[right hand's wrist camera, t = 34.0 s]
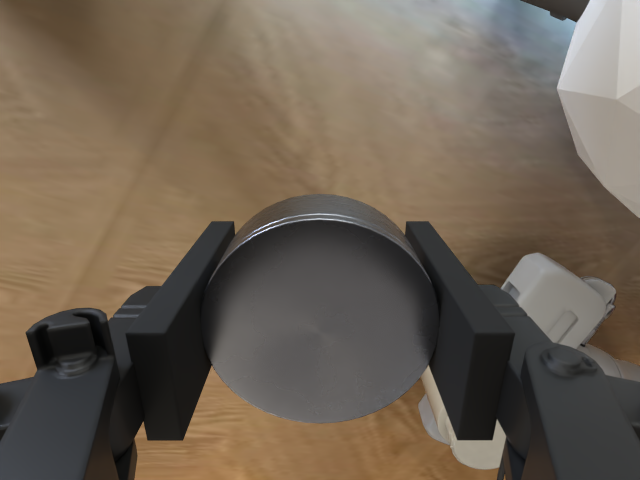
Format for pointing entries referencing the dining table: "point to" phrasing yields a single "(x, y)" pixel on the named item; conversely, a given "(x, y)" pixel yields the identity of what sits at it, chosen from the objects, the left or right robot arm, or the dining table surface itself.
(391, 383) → the lid
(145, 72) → the dining table surface
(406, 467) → the dining table surface
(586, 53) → the sphere
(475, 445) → the bottle
